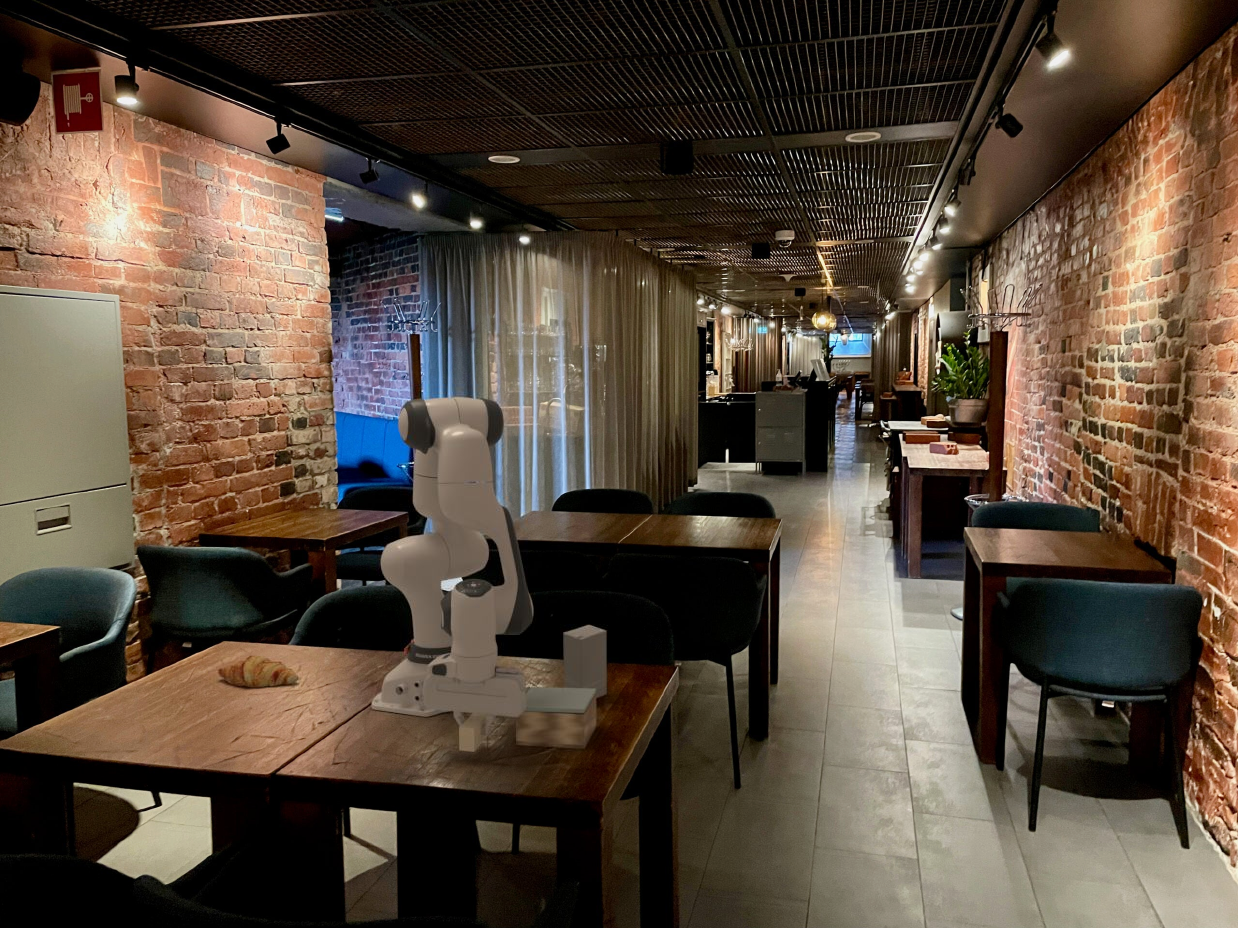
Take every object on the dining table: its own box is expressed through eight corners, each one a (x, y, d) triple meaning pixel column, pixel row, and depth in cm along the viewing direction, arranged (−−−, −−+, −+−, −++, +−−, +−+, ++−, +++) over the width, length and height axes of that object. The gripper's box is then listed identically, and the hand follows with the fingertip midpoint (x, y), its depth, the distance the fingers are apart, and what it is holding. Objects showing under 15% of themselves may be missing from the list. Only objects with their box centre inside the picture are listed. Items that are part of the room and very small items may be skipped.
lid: (510, 710, 184) (510, 706, 184) (526, 690, 196) (526, 686, 196) (583, 712, 181) (583, 708, 181) (596, 692, 193) (595, 688, 193)
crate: (516, 744, 184) (515, 710, 184) (532, 722, 196) (531, 690, 195) (584, 748, 182) (583, 714, 181) (596, 726, 194) (596, 693, 193)
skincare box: (588, 688, 217) (587, 623, 215) (609, 696, 212) (608, 628, 210) (561, 697, 211) (560, 630, 209) (582, 705, 206) (581, 636, 204)
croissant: (304, 694, 226) (311, 661, 229) (285, 688, 217) (292, 654, 220) (225, 688, 229) (233, 656, 232) (203, 682, 220) (211, 649, 223)
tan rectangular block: (459, 750, 175) (459, 727, 175) (476, 731, 184) (476, 709, 184) (474, 751, 175) (473, 729, 174) (490, 732, 183) (490, 711, 183)
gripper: (530, 663, 178) (531, 731, 180) (432, 655, 183) (433, 721, 185) (520, 674, 172) (520, 744, 174) (419, 665, 177) (420, 734, 178)
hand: (475, 732), depth 179 cm, fingers closed on tan rectangular block, 3 cm apart
